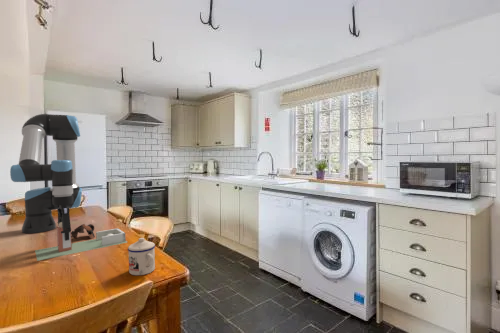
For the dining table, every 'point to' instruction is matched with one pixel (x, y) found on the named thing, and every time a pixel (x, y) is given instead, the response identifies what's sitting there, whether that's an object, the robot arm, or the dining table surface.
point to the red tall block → (61, 239)
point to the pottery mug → (81, 228)
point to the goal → (110, 236)
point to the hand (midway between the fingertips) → (64, 243)
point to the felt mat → (76, 248)
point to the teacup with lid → (141, 257)
